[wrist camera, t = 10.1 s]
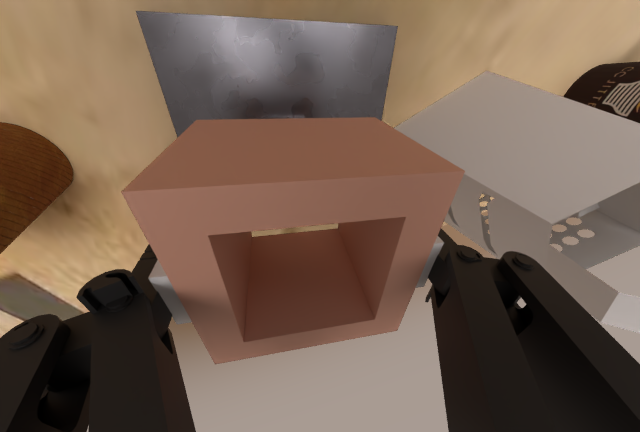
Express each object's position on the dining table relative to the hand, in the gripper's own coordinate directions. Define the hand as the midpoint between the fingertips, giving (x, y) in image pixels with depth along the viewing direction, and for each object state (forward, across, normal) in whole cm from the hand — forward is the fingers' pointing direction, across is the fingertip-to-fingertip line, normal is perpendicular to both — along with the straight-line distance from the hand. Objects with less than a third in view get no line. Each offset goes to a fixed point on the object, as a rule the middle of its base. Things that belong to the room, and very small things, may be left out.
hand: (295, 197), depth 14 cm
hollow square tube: (0, 0, 0) cm, 0 cm away
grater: (+11, +18, -1) cm, 21 cm away
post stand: (+11, 0, 0) cm, 11 cm away
